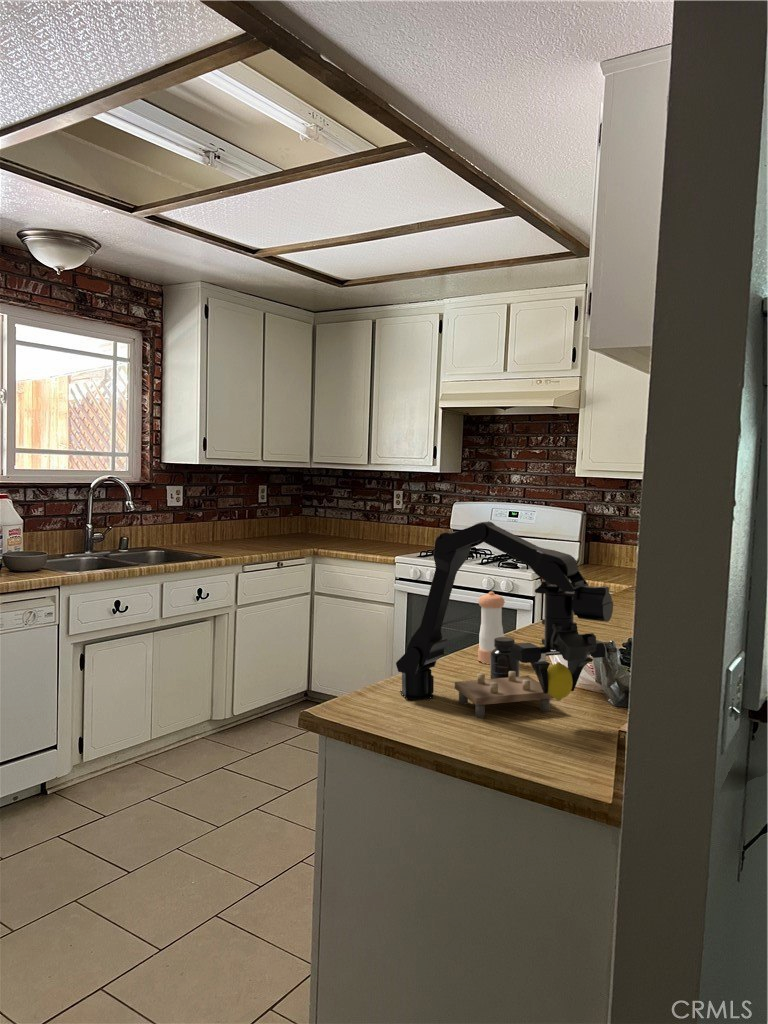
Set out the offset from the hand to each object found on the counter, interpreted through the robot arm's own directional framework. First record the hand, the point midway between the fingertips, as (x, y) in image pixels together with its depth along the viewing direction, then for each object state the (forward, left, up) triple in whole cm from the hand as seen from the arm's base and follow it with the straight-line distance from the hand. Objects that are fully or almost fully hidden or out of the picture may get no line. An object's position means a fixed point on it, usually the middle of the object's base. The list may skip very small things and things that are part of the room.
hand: (558, 691), depth 157 cm
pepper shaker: (+7, +52, -7) cm, 53 cm away
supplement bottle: (0, +27, -7) cm, 28 cm away
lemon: (0, 0, -2) cm, 2 cm away
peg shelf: (-6, +14, -7) cm, 17 cm away
